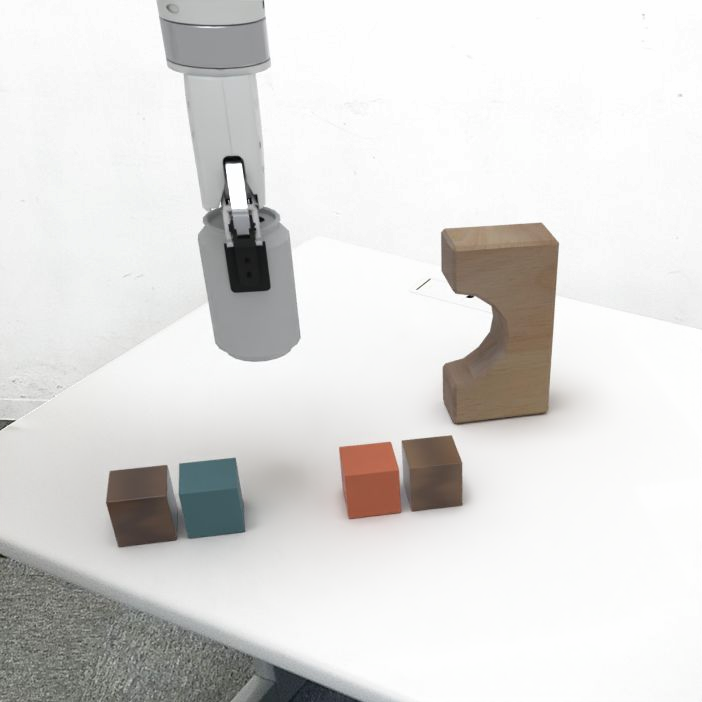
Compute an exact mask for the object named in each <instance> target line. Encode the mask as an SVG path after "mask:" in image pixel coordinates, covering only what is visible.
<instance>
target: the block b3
mask: <svg viewBox="0 0 702 702" xmlns="http://www.w3.org/2000/svg"><path fill="white" fill-rule="evenodd" d="M338 452H339V453H338V454H339V463H340V473H341V475H340V476H341V484H342V485H341V486H342V491H343V496H344V502H345V506H346V512H347V516H348V519H349V520H350V519H360V518H366V517H375V516H383V515H391V514H399V513H402V505H401V504H402V503H401V502H402V501H401V482H400V479H401V478H400V468H399V464H398V461H397V457H396V455H395V450H394V447H393V444H392V442H391V441H383V442H373V443H363V444H354V445H346V446H345V445H344V446H339V447H338Z"/></svg>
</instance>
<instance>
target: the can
mask: <svg viewBox="0 0 702 702" xmlns="http://www.w3.org/2000/svg"><path fill="white" fill-rule="evenodd" d="M258 214H259V222H260V229H261V237H262V241H265V244H266V252H267V260H268V268H269V276H270V284H271V288H270V290H268V291H258V292H242V293H234V292H232V291H231V289H230V282H229V275H228V269H227V262H226V256H225V249H224V243H226V236H225V229H224V221H223V214H222V211H221V206H219V208H213V209H211V212H208V211H207V213H205V214H204V216H203V217H202V224H203V225H204V226H203V227H202V228H201V229H200V230H199V232H198V234H197V243H198V250H199V255H200V263H201V267H202V274H203V279H204V285H205V290H206V297H207V304H208V308H209V314H210V315H209V316H210V320H211V326H212V332H213V337H214V344H215V345H216V346H217V347H218V349H219V350H221V351H223V352H225V353H227V355H228V356H230V357H232V358H234V359H235V360H239V361H243V362H250V363H251V362H252V363H260V362H261V363H262V362H268V361H273V360H276V359H279V358H283V357H284V356H286V355H287V354H288V353H291V351H292V350H293V348H294V347H295V346H297V345H298V343H299V342H300V340H301V339H302V335H301V327H300V318H299V308H298V299H297V298H298V297H297V290H296V282H295V281H296V280H295V271H294V262H293V254H292V253H293V252H292V244H291V234H290V230H289V229H288V228H287V227H285V226H284V224H283V223H281V215H280V213H278V212H277V211H276V210H275V209H273V208H270V207H268V206H265V205H264V206H263V207H262V208H261V209H260V210H259V207H258ZM249 219H252V214H249ZM230 220H233V216H232V215H230ZM252 221H253V220H252ZM230 222H231V221H230ZM232 236H233V235H232ZM254 237H255V235H254ZM233 243H234V242H233Z"/></svg>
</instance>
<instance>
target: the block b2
mask: <svg viewBox="0 0 702 702" xmlns="http://www.w3.org/2000/svg"><path fill="white" fill-rule="evenodd" d="M178 498H179V503H180V507H181V511H182V517H183V520H184V524H185V529H186V534H187V538H188V539H196V538H197V539H198V538H204V537H212V536H213V537H214V536H221V535H228V534H238V533H245V532H246V525H245V509H244V499H243V492H242V486H241V480H240V476H239V469H238V464H237V458H236V457H228V458H227V457H226V458H217V459H209V460H208V459H207V460H198V461H190V462H189V461H188V462H179V465H178Z"/></svg>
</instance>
